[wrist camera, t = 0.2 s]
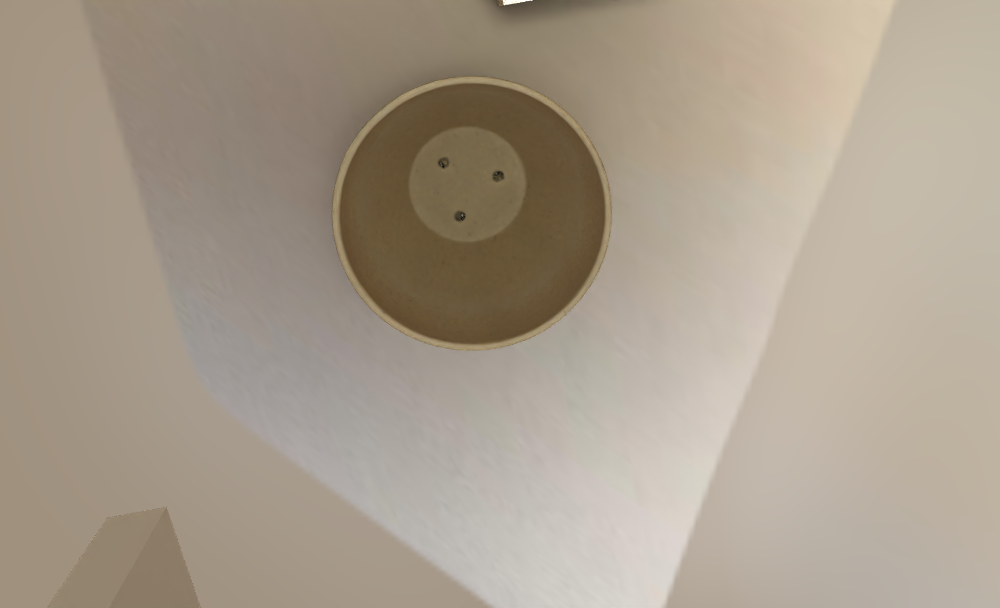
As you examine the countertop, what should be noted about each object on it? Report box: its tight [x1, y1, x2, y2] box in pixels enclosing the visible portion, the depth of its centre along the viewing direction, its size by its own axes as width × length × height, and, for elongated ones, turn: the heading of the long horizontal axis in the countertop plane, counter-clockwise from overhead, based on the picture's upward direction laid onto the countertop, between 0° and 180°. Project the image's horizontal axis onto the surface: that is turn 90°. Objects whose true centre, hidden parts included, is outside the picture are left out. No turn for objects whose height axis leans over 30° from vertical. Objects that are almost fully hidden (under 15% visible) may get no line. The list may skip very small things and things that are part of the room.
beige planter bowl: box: [332, 76, 612, 351], centre depth 34 cm, size 10×10×7 cm
